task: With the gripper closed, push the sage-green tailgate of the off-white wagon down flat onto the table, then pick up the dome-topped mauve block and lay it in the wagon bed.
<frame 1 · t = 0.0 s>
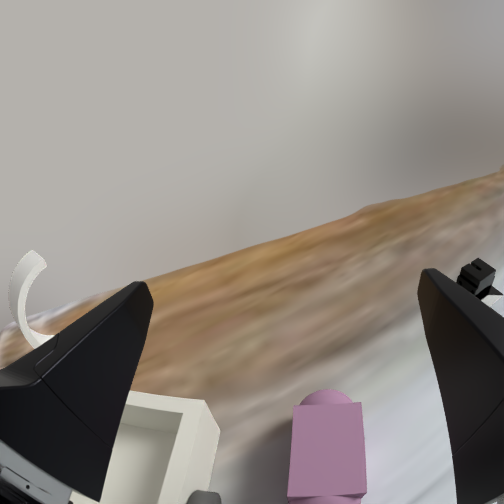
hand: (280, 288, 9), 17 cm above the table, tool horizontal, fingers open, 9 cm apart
black grey mechanical block: (468, 302, 29), on the table
dome-topped mauve block: (324, 468, 17), on the table
wagon bed: (105, 494, 16), on the table
headphone stand: (67, 355, 30), on the table
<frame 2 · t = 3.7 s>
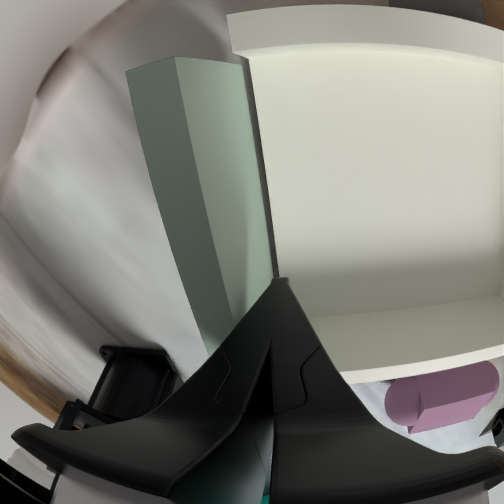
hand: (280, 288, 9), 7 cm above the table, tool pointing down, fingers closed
tailgate: (240, 257, 11), point 5 cm above the table, hinge at 1.5°, touching gripper
black grey mechanical block: (501, 414, 28), on the table
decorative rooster: (119, 434, 36), on the table
table top decor: (290, 494, 46), on the table
dome-topped mauve block: (439, 372, 21), on the table
wagon bed: (422, 192, 14), on the table
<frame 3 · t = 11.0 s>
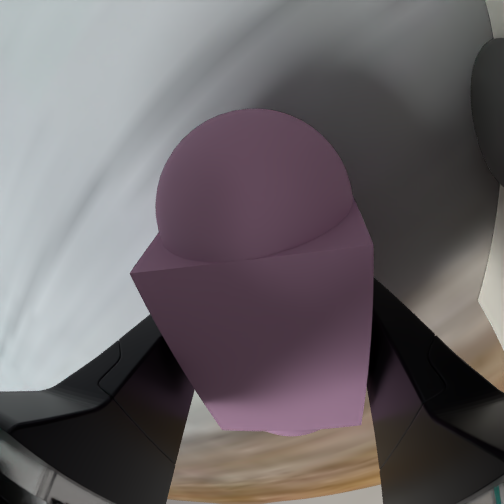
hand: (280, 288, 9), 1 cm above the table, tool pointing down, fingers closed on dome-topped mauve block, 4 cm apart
dome-topped mauve block: (282, 266, 10), on the table, touching gripper
when the fingers open (3 cm above the table, at t = 15.8 s): dome-topped mauve block drops 1 cm, resting on wagon bed.
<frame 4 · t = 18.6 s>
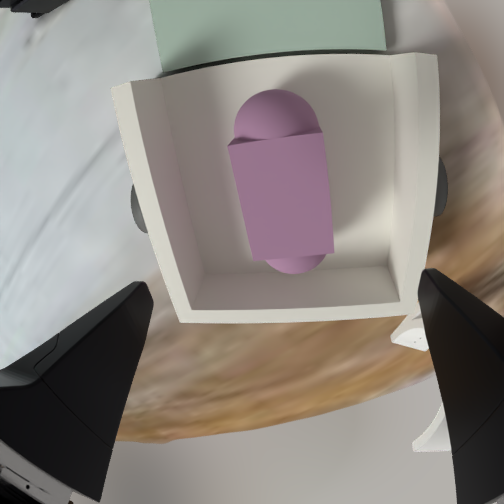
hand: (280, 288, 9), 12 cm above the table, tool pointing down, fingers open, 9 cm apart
dome-topped mauve block: (286, 174, 19), point 1 cm above the table, touching wagon bed
wagon bed: (288, 176, 20), on the table
headphone stand: (425, 318, 25), on the table
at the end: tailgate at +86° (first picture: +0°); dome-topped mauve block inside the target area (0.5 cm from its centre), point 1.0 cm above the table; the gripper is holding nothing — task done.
